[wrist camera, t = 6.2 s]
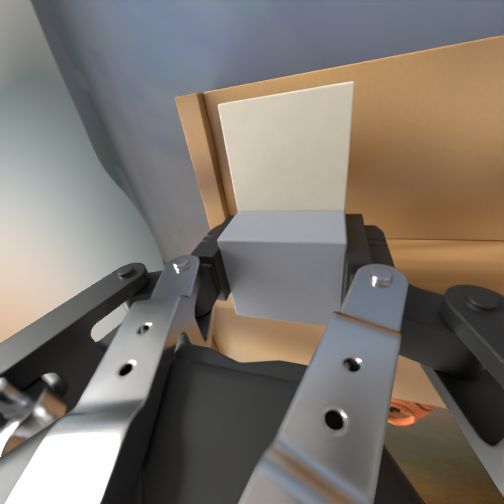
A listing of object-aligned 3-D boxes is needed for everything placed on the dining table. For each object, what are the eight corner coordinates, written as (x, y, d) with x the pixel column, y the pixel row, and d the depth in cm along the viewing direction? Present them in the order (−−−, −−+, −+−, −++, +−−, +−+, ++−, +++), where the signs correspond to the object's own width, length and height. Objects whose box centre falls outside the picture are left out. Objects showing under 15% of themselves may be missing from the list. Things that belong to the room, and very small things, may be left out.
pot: (404, 390, 28) (402, 452, 23) (343, 352, 30) (329, 402, 25) (456, 362, 23) (467, 434, 18) (378, 318, 25) (370, 373, 20)
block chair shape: (229, 101, 9) (181, 111, 6) (352, 81, 8) (363, 80, 5) (256, 266, 13) (235, 315, 11) (338, 271, 12) (339, 329, 9)
